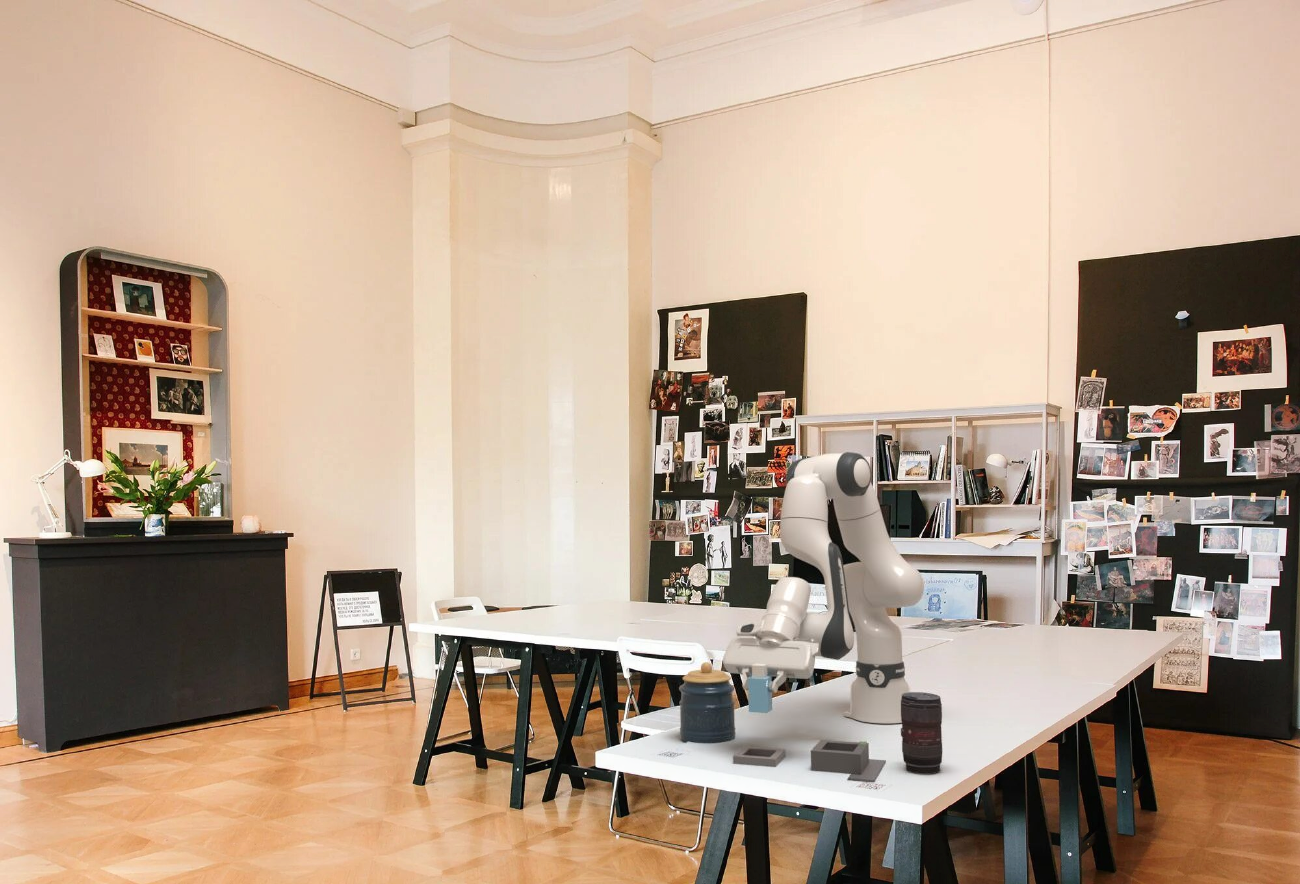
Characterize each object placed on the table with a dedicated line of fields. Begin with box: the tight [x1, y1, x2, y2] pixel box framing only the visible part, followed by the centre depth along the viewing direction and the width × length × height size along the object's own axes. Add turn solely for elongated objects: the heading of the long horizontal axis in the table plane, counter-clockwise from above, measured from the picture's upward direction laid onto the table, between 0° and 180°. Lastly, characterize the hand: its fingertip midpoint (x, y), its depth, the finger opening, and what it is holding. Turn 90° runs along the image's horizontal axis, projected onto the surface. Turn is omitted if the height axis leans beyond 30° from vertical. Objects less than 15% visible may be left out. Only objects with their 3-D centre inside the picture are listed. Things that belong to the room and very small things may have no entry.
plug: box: [747, 663, 773, 714], centre depth 211 cm, size 4×4×10 cm
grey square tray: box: [732, 745, 787, 768], centre depth 210 cm, size 9×9×2 cm
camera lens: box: [900, 691, 943, 775], centre depth 203 cm, size 8×8×15 cm
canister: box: [678, 662, 736, 744], centre depth 233 cm, size 13×13×18 cm
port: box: [810, 739, 887, 783], centre depth 204 cm, size 16×16×5 cm
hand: (758, 689), depth 211 cm, fingers closed on plug, 4 cm apart
